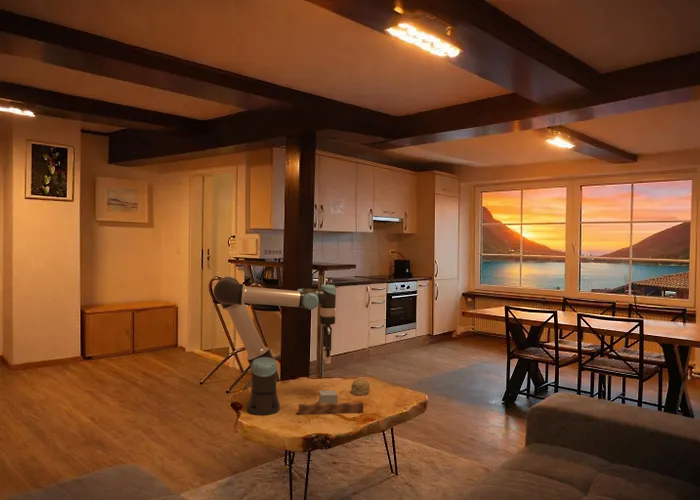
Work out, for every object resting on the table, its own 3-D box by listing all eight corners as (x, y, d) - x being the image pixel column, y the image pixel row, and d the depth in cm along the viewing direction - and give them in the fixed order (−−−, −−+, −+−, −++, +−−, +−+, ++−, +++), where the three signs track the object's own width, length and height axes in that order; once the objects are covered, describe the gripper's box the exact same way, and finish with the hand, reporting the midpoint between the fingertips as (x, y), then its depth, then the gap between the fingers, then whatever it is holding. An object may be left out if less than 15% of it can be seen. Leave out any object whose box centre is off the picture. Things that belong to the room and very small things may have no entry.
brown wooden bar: (298, 414, 245) (299, 405, 244) (298, 412, 248) (298, 403, 247) (363, 412, 250) (363, 403, 249) (361, 410, 253) (362, 401, 252)
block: (320, 407, 255) (321, 395, 255) (318, 402, 262) (319, 390, 262) (337, 407, 257) (337, 394, 256) (334, 402, 264) (335, 390, 263)
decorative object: (356, 403, 273) (367, 389, 270) (344, 389, 278) (354, 375, 275) (366, 400, 281) (376, 386, 278) (354, 386, 286) (363, 372, 283)
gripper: (337, 319, 257) (336, 366, 258) (332, 312, 276) (331, 356, 278) (322, 319, 256) (321, 366, 257) (318, 312, 275) (317, 356, 276)
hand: (326, 361), depth 267 cm, fingers open, 6 cm apart
